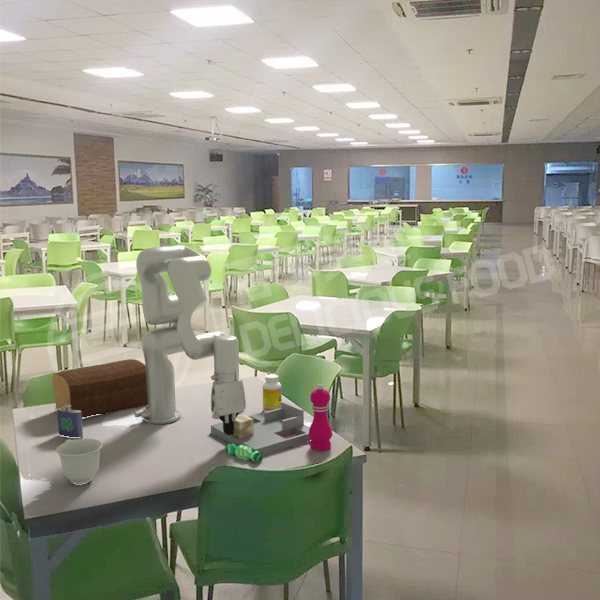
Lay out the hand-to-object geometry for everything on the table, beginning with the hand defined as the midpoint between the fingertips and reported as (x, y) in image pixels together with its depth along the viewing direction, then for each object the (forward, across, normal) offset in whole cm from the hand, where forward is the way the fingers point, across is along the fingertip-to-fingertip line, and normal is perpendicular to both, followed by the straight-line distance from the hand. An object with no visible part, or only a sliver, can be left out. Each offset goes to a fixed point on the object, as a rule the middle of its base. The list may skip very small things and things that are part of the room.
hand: (228, 433), depth 207 cm
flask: (+4, -36, +39) cm, 53 cm away
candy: (+4, -1, -11) cm, 12 cm away
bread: (+4, -17, +60) cm, 63 cm away
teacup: (+4, -45, +5) cm, 45 cm away
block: (+1, +5, 0) cm, 5 cm away
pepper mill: (+4, +21, -19) cm, 29 cm away
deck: (+4, +13, 0) cm, 14 cm away
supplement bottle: (+4, +29, +18) cm, 34 cm away
